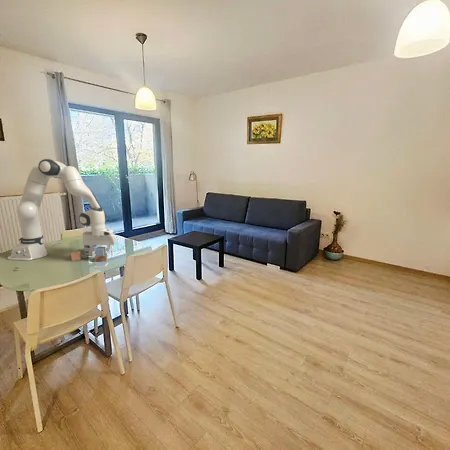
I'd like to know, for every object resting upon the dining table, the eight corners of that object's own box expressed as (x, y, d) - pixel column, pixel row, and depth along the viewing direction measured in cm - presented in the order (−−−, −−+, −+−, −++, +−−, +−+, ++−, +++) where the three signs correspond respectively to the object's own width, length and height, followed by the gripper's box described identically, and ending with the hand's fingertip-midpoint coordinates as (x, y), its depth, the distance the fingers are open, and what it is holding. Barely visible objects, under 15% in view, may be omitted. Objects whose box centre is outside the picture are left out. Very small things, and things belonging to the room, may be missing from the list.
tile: (94, 267, 164) (94, 266, 164) (97, 262, 170) (97, 262, 170) (105, 266, 165) (105, 265, 165) (108, 262, 171) (108, 261, 171)
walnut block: (95, 262, 172) (94, 257, 171) (96, 258, 178) (96, 253, 177) (106, 261, 174) (105, 256, 173) (107, 257, 180) (106, 252, 179)
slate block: (95, 256, 172) (95, 249, 171) (98, 253, 177) (97, 246, 176) (103, 256, 173) (102, 249, 172) (105, 253, 178) (105, 246, 176)
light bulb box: (92, 255, 182) (91, 241, 180) (84, 254, 183) (83, 240, 181) (102, 251, 192) (101, 237, 190) (94, 250, 194) (93, 236, 191)
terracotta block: (71, 260, 172) (71, 254, 171) (72, 258, 177) (72, 251, 176) (80, 260, 174) (79, 253, 173) (81, 257, 179) (80, 250, 177)
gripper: (80, 232, 166) (82, 252, 170) (113, 232, 169) (114, 252, 173) (84, 230, 173) (86, 249, 176) (115, 230, 175) (117, 249, 179)
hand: (100, 250), depth 174 cm, fingers open, 8 cm apart
